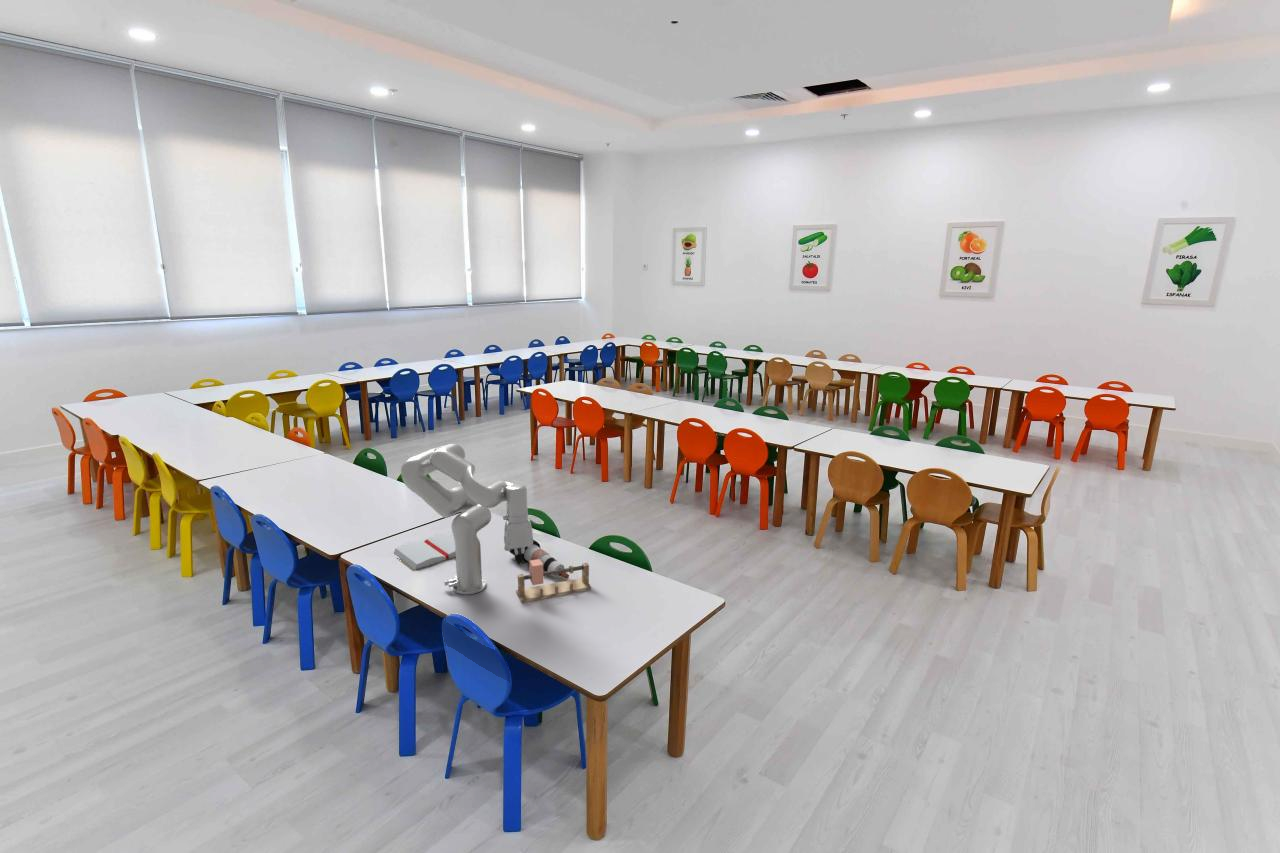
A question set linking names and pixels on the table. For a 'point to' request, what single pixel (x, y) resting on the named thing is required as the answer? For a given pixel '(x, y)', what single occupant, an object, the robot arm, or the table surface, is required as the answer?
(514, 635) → the table surface
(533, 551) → the black and grey cylinder
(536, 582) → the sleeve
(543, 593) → the wooden test tube rack
